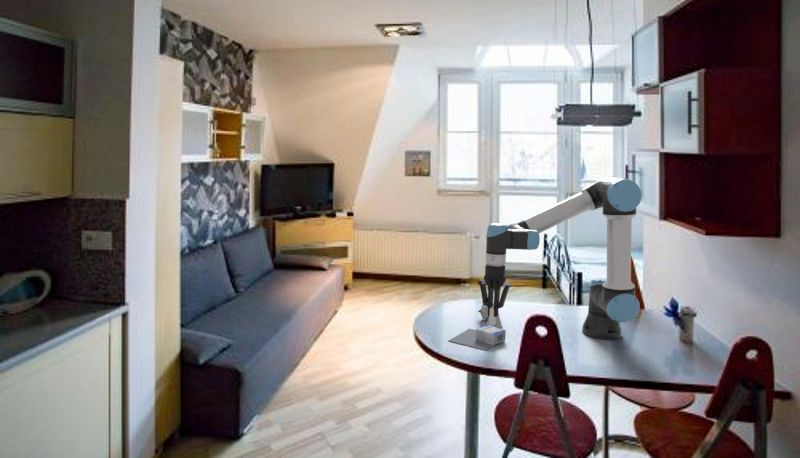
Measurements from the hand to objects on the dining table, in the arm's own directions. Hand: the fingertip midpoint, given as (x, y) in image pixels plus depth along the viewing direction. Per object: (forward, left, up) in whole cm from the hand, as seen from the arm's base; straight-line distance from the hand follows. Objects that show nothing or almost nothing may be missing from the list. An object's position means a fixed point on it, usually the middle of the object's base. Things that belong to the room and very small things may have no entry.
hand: (492, 324), depth 209 cm
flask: (+7, -18, -8) cm, 21 cm away
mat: (+6, 0, -7) cm, 10 cm away
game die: (+13, -25, -8) cm, 29 cm away
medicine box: (-3, 0, -5) cm, 6 cm away
